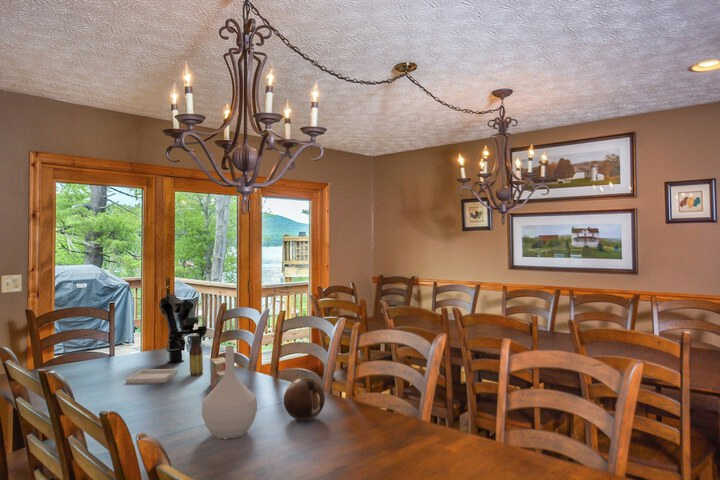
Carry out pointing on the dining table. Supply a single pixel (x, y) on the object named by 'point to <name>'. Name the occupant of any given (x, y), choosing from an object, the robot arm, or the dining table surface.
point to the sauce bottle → (196, 357)
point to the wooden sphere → (304, 399)
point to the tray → (151, 376)
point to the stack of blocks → (217, 370)
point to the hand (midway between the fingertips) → (191, 345)
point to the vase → (229, 404)
